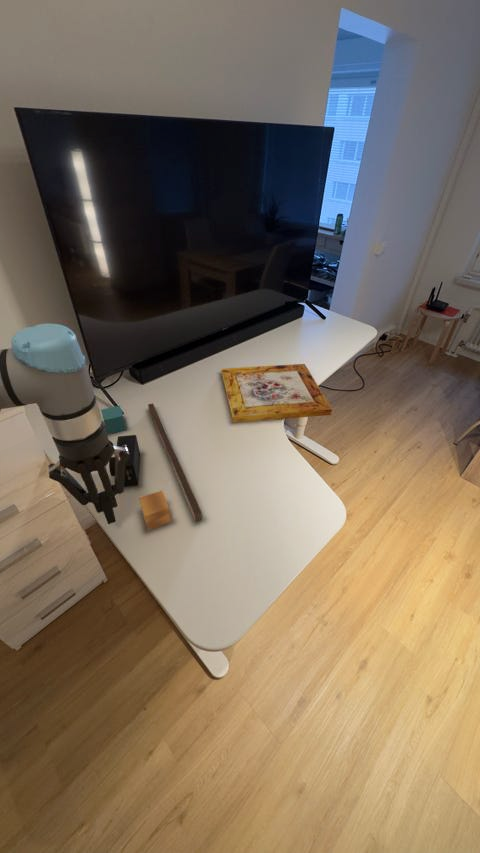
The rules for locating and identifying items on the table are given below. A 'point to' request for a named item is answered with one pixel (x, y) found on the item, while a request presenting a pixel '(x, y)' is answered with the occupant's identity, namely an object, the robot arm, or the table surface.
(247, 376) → the picture frame
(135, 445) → the digital camera
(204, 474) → the table surface
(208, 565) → the table surface
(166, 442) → the rail
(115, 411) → the teal block
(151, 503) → the oak block
